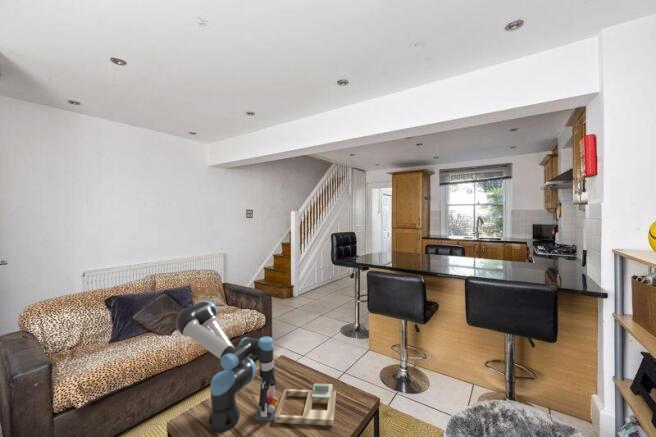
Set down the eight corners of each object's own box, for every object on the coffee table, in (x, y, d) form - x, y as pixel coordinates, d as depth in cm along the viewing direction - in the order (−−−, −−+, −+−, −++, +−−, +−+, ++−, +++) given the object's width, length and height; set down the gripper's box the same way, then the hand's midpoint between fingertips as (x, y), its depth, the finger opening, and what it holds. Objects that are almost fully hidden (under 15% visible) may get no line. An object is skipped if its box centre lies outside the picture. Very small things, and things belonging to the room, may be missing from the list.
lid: (311, 397, 152) (311, 391, 151) (314, 384, 163) (314, 378, 162) (329, 398, 151) (329, 391, 150) (331, 385, 161) (331, 379, 161)
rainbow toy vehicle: (276, 413, 141) (271, 400, 141) (259, 417, 142) (254, 404, 142) (281, 401, 149) (276, 388, 149) (265, 405, 150) (260, 393, 150)
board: (274, 422, 139) (273, 416, 139) (287, 387, 166) (287, 382, 166) (333, 425, 136) (332, 419, 136) (336, 389, 163) (336, 384, 162)
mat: (254, 419, 141) (254, 418, 141) (261, 404, 152) (261, 403, 152) (275, 420, 140) (275, 419, 140) (281, 405, 151) (281, 404, 151)
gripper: (265, 383, 132) (267, 425, 133) (280, 354, 157) (281, 390, 158) (250, 382, 133) (252, 424, 134) (267, 354, 157) (268, 390, 158)
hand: (268, 406), depth 146 cm, fingers open, 13 cm apart
